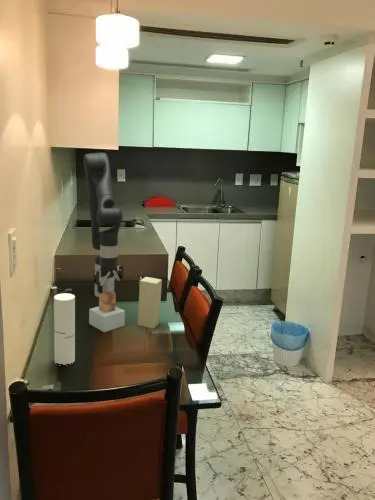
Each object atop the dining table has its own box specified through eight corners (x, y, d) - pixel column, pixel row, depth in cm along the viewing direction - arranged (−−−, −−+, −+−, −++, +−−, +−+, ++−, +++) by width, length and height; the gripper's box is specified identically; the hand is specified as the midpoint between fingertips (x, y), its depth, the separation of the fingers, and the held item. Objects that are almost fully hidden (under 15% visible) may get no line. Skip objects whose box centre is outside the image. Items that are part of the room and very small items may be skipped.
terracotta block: (108, 306, 198) (108, 289, 196) (115, 310, 195) (115, 293, 193) (99, 309, 194) (99, 292, 192) (106, 313, 191) (106, 295, 189)
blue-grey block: (109, 317, 204) (109, 303, 202) (124, 325, 196) (125, 310, 195) (89, 323, 196) (89, 309, 194) (104, 332, 189) (104, 316, 187)
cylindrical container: (56, 355, 167) (56, 292, 160) (76, 356, 167) (76, 293, 161) (52, 365, 160) (52, 300, 153) (73, 365, 160) (73, 300, 154)
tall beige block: (160, 322, 202) (162, 278, 197) (153, 328, 195) (156, 283, 190) (144, 319, 204) (146, 276, 199) (137, 325, 197) (139, 280, 192)
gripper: (116, 250, 196) (115, 285, 200) (89, 255, 185) (89, 292, 190) (127, 254, 191) (126, 289, 195) (100, 259, 180) (100, 297, 185)
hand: (108, 290), depth 192 cm, fingers open, 8 cm apart
